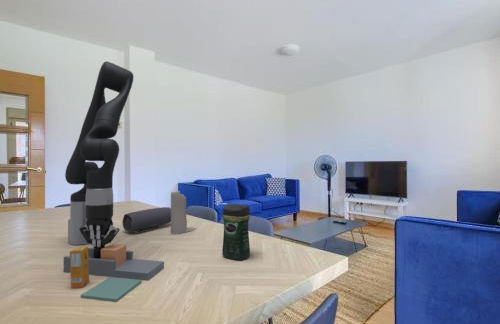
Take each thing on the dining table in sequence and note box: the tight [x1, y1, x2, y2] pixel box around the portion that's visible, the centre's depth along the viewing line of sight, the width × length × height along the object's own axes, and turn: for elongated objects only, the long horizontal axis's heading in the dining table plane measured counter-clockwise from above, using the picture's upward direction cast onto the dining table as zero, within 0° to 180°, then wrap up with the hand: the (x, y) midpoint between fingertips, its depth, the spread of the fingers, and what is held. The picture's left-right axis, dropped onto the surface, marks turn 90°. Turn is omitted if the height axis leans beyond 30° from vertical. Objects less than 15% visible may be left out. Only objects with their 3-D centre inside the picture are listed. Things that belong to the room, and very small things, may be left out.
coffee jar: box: [221, 203, 251, 261], centre depth 92 cm, size 10×8×19 cm
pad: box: [80, 277, 142, 303], centre depth 68 cm, size 10×10×1 cm
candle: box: [170, 190, 197, 235], centre depth 126 cm, size 7×14×20 cm, turn 148°
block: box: [101, 243, 127, 266], centre depth 80 cm, size 5×5×5 cm
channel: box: [63, 247, 165, 281], centre depth 80 cm, size 28×9×4 cm, turn 80°
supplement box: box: [69, 246, 90, 289], centre depth 70 cm, size 3×3×10 cm
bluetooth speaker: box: [122, 206, 171, 233], centre depth 128 cm, size 23×9×10 cm, turn 144°
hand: (99, 257), depth 81 cm, fingers closed
